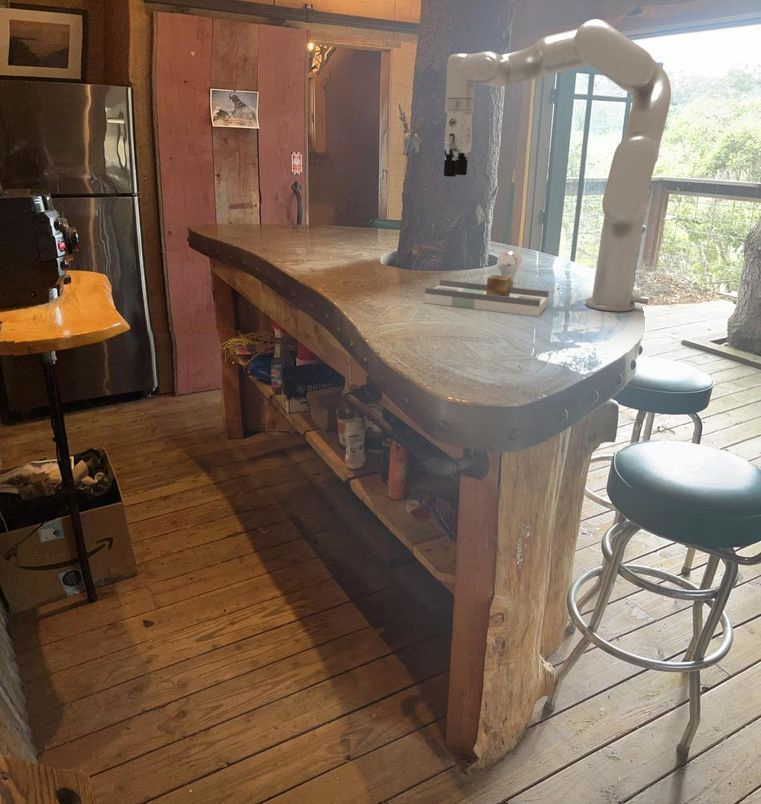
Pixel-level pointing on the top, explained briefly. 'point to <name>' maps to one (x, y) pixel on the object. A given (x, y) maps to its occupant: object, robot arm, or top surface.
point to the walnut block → (498, 285)
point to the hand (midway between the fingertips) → (455, 175)
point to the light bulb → (509, 263)
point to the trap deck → (487, 298)
